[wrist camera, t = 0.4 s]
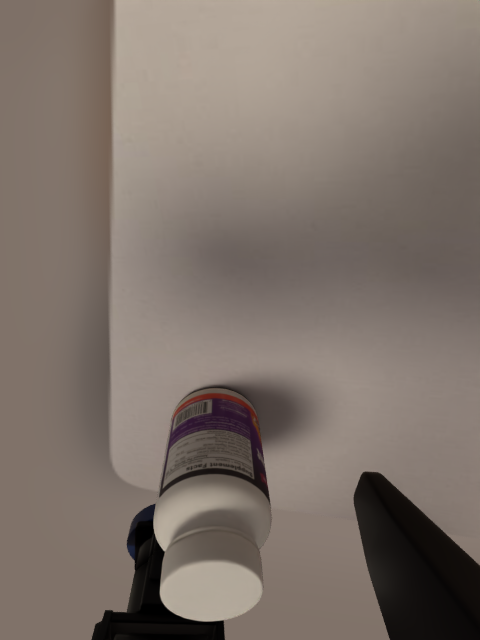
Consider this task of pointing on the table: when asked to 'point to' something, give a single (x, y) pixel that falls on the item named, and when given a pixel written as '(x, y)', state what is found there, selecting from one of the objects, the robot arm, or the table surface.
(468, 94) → the table surface
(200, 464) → the pill bottle
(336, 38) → the table surface
